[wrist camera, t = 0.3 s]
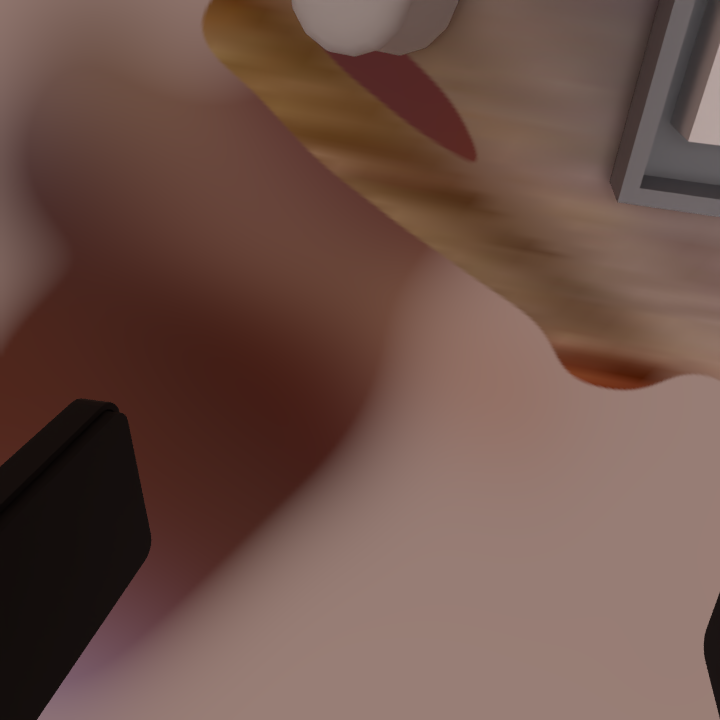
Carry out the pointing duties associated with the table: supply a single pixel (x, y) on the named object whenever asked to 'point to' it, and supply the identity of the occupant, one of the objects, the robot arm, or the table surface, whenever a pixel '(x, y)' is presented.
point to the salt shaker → (374, 24)
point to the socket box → (675, 115)
